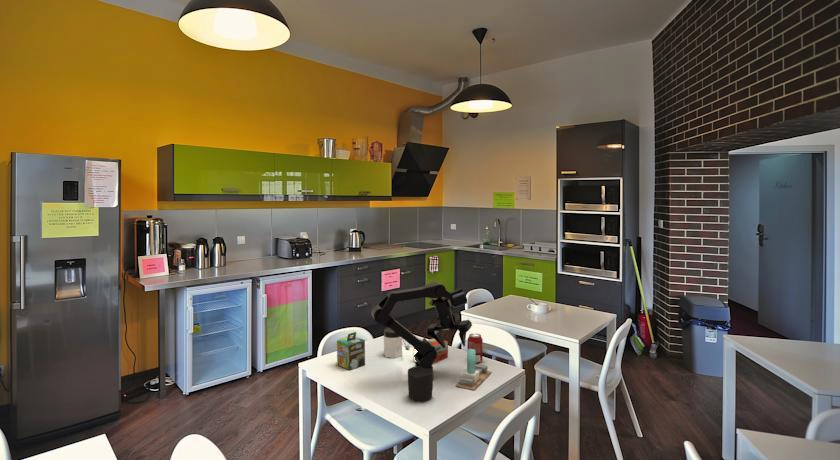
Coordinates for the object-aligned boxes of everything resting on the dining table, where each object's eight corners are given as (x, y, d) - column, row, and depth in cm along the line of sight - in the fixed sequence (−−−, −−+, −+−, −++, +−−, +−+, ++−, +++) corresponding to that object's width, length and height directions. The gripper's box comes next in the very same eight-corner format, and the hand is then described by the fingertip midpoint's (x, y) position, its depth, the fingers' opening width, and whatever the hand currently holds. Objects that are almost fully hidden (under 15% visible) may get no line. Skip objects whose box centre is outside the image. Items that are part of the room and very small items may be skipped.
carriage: (474, 383, 175) (475, 352, 174) (462, 381, 177) (463, 350, 177) (479, 379, 180) (479, 349, 179) (467, 376, 182) (467, 347, 181)
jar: (391, 359, 204) (391, 333, 204) (379, 355, 210) (379, 330, 209) (405, 354, 211) (405, 329, 210) (394, 350, 216) (394, 326, 216)
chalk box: (353, 360, 204) (352, 328, 203) (365, 365, 198) (365, 332, 197) (336, 365, 197) (335, 332, 196) (349, 370, 191) (348, 336, 190)
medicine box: (435, 353, 213) (435, 337, 212) (448, 357, 207) (448, 340, 207) (413, 362, 202) (413, 344, 201) (426, 366, 196) (426, 348, 196)
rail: (474, 390, 171) (474, 382, 171) (455, 386, 175) (455, 378, 174) (491, 372, 188) (491, 365, 188) (473, 369, 192) (473, 362, 192)
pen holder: (425, 390, 172) (425, 364, 171) (437, 399, 163) (437, 372, 163) (403, 394, 167) (403, 368, 167) (415, 405, 159) (415, 377, 158)
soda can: (481, 364, 198) (482, 337, 198) (466, 363, 200) (466, 336, 199) (482, 359, 205) (483, 333, 204) (468, 358, 206) (468, 332, 205)
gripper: (470, 301, 186) (481, 336, 188) (431, 306, 195) (441, 339, 197) (462, 312, 176) (472, 348, 178) (421, 317, 185) (431, 352, 187)
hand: (454, 346), depth 185 cm, fingers open, 9 cm apart
